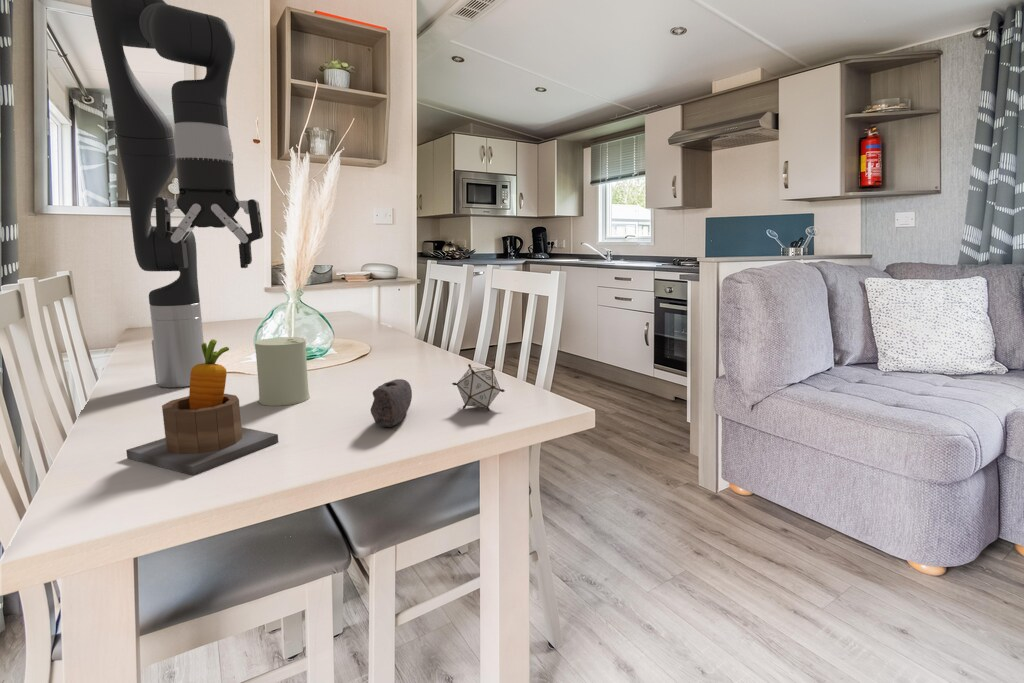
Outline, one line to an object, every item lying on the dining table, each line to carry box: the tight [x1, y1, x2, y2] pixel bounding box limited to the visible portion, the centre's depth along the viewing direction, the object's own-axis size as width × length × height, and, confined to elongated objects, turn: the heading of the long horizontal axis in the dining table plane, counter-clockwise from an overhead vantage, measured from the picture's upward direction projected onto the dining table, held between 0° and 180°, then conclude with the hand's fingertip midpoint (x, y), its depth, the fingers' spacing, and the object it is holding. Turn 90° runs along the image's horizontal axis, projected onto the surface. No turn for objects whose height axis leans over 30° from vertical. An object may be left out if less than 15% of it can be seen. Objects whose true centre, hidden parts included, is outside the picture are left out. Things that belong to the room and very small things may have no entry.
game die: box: [451, 363, 506, 412], centre depth 104 cm, size 9×8×10 cm
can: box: [254, 336, 311, 407], centre depth 109 cm, size 9×9×12 cm
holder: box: [126, 393, 279, 476], centre depth 83 cm, size 14×14×7 cm
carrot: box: [188, 339, 230, 409], centre depth 83 cm, size 5×5×15 cm
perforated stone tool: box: [370, 378, 413, 428], centre depth 98 cm, size 15×5×7 cm, turn 173°
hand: (214, 267), depth 88 cm, fingers open, 8 cm apart
